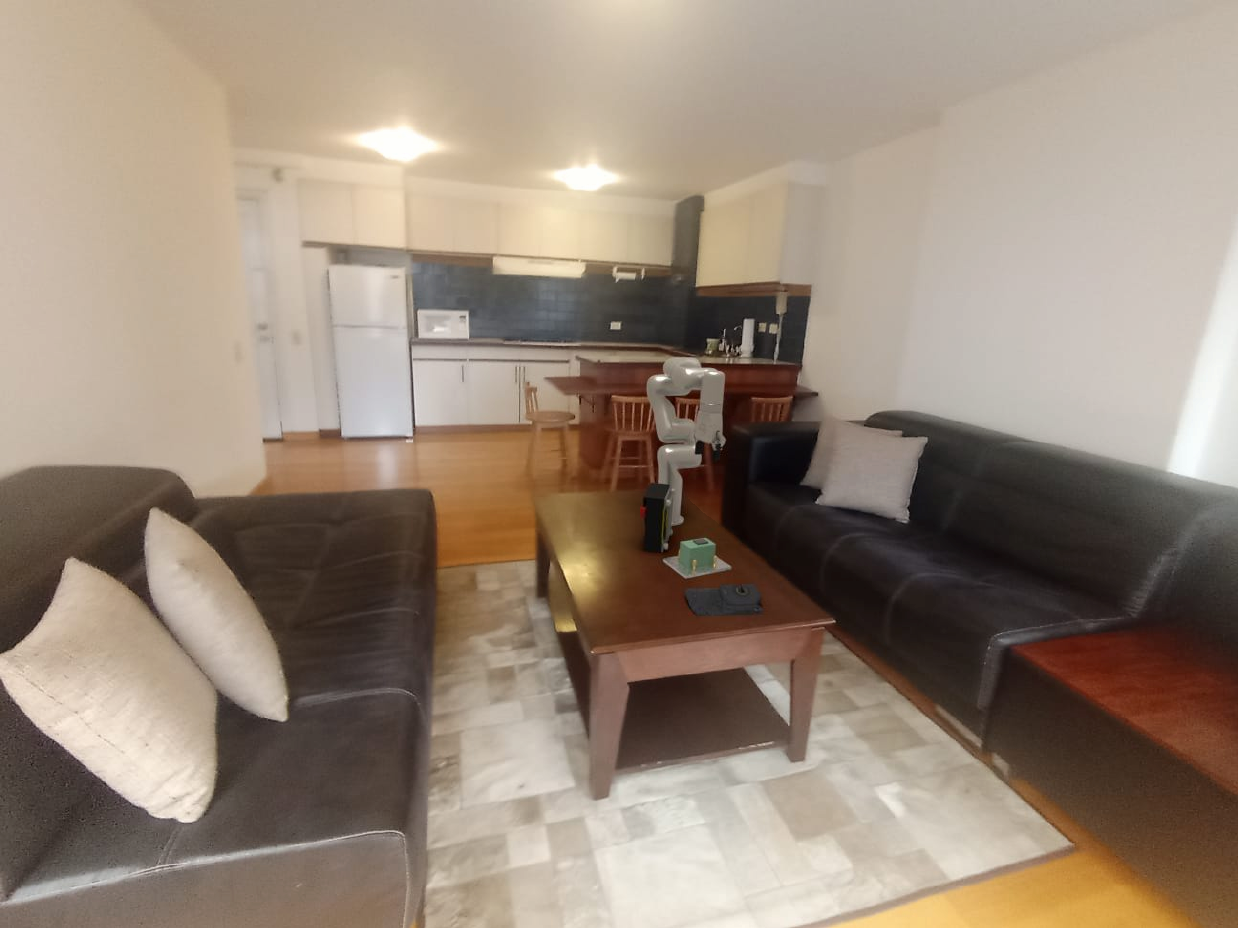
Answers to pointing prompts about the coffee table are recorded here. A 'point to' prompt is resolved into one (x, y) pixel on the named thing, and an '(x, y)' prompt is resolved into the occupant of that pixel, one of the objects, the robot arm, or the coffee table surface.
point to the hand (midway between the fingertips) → (707, 457)
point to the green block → (697, 552)
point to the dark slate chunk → (725, 600)
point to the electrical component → (657, 516)
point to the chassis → (696, 571)
